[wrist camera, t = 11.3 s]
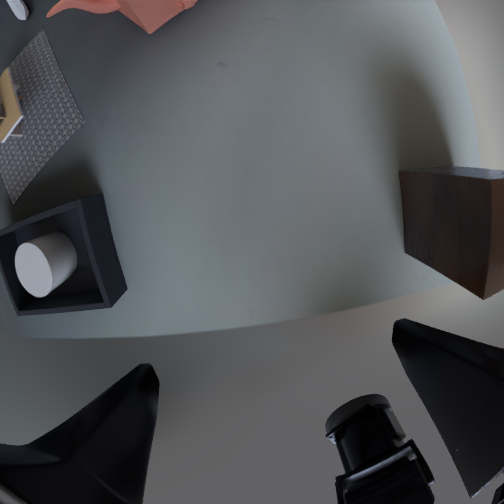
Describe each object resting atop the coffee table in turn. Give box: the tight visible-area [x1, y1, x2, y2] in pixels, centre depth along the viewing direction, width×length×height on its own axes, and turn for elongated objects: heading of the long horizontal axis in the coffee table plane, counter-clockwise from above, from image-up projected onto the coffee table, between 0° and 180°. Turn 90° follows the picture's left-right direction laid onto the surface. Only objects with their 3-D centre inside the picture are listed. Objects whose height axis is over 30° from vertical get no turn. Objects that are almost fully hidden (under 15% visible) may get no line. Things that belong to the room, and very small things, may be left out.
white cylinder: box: [15, 231, 77, 297], centre depth 17 cm, size 4×4×4 cm
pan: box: [0, 194, 127, 316], centre depth 18 cm, size 12×8×3 cm, turn 99°
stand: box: [399, 166, 504, 300], centre depth 15 cm, size 7×7×10 cm
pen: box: [7, 0, 29, 20], centre depth 9 cm, size 2×14×2 cm, turn 39°
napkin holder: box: [0, 67, 25, 144], centre depth 12 cm, size 3×7×7 cm, turn 31°
